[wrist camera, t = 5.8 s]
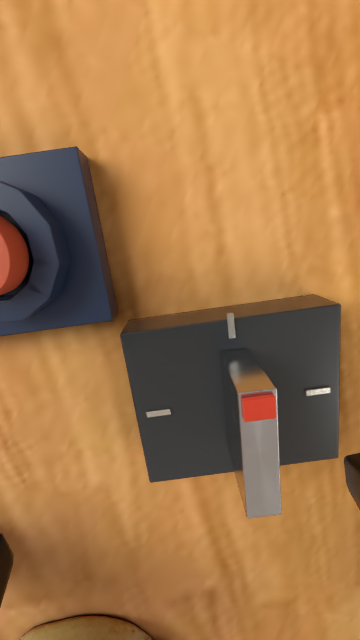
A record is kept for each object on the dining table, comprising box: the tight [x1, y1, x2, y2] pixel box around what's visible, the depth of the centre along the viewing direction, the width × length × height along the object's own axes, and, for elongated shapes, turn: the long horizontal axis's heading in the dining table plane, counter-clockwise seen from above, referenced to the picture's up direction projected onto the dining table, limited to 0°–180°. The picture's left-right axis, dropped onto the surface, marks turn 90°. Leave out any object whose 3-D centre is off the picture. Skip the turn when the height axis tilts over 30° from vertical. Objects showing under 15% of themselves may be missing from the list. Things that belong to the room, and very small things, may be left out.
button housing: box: [0, 147, 118, 336], centre depth 15 cm, size 10×9×4 cm
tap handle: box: [220, 348, 281, 518], centre depth 14 cm, size 6×2×5 cm, turn 7°
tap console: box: [120, 294, 341, 482], centre depth 18 cm, size 12×11×3 cm
